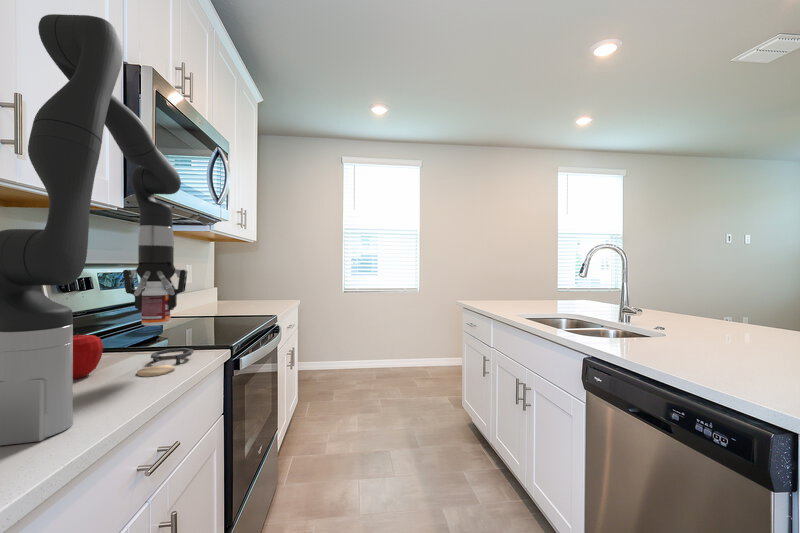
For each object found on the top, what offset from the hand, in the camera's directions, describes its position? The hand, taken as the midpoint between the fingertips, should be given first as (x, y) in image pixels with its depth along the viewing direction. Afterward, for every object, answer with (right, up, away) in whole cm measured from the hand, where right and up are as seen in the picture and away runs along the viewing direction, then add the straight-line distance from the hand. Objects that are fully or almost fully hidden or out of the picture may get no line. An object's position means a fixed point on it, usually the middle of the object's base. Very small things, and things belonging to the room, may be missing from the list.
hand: (156, 309), depth 94 cm
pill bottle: (0, -4, 0) cm, 4 cm away
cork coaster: (0, -16, 0) cm, 16 cm away
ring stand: (-2, -16, +11) cm, 19 cm away
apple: (-17, -16, -4) cm, 23 cm away
